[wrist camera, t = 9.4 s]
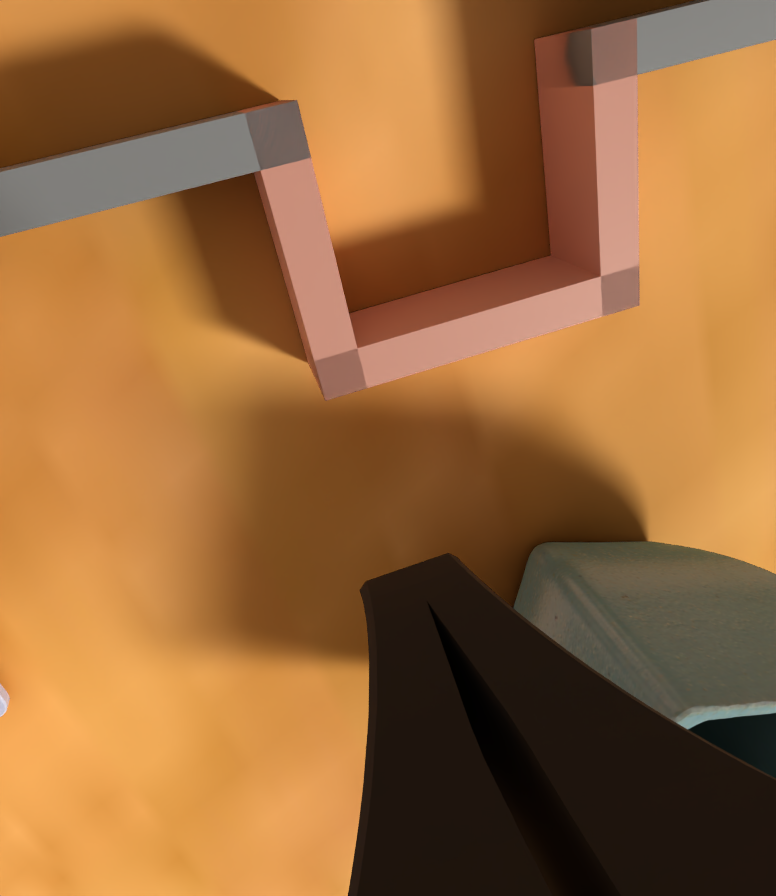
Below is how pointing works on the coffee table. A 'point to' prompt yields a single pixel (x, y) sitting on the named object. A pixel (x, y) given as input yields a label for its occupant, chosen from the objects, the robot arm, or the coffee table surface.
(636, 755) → the robot arm
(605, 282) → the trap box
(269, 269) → the coffee table surface
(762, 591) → the flower pot
